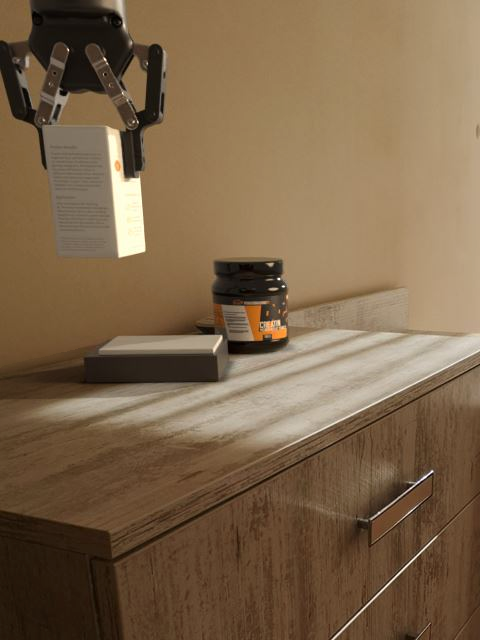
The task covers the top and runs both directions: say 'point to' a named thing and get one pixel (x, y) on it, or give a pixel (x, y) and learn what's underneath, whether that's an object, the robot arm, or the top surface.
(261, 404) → the top surface
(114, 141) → the small box
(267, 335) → the supplement container
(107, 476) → the top surface
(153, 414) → the top surface
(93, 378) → the scale
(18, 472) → the top surface
